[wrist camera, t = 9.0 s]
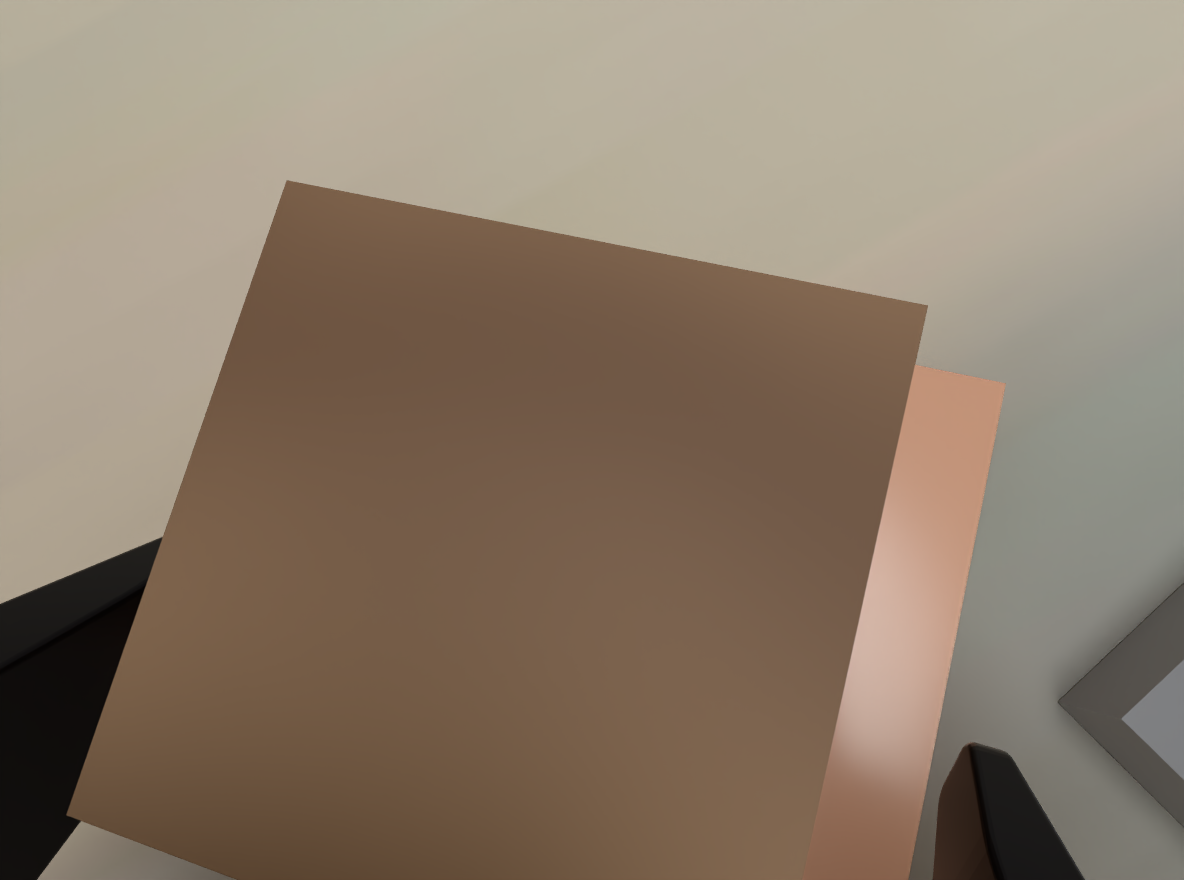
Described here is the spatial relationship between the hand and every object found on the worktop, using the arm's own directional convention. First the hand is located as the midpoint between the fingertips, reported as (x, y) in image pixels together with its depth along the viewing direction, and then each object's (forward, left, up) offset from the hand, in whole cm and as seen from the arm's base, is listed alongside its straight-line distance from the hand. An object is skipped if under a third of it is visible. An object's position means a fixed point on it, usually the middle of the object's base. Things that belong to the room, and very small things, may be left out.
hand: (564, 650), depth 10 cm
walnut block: (+1, 0, -8) cm, 8 cm away
